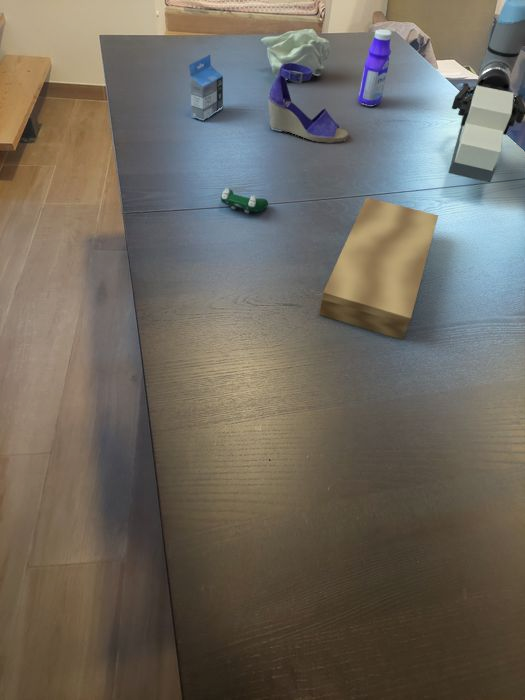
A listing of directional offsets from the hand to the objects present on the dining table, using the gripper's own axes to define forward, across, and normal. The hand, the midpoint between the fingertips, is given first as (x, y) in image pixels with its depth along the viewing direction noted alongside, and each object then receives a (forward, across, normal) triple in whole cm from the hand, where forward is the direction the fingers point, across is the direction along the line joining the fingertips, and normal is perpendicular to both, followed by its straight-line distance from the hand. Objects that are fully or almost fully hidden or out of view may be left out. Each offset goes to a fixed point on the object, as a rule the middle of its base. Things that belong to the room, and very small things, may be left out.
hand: (485, 123), depth 108 cm
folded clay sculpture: (-33, +53, -12) cm, 64 cm away
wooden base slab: (+43, +11, -12) cm, 46 cm away
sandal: (-2, +39, -12) cm, 41 cm away
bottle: (-27, +29, -12) cm, 42 cm away
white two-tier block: (+1, 0, -6) cm, 7 cm away
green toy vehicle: (+35, +41, -12) cm, 55 cm away
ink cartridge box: (0, +65, -12) cm, 66 cm away
